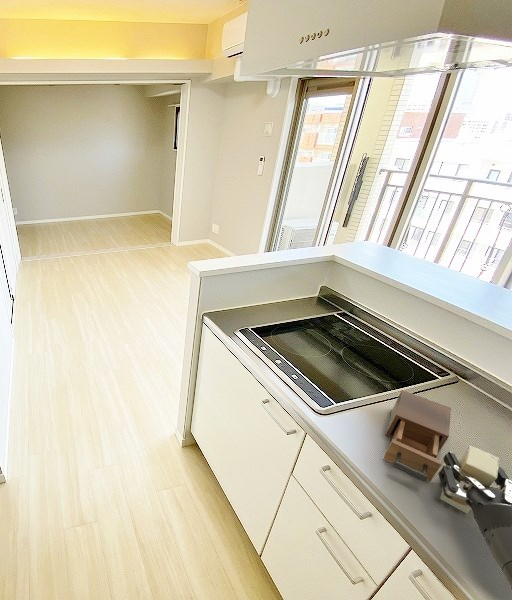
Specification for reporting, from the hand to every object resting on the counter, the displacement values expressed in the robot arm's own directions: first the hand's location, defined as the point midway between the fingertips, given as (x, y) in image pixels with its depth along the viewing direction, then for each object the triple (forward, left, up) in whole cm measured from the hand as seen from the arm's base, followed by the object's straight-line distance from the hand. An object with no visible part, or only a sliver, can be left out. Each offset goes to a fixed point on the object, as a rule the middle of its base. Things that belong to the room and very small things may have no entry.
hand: (469, 460), depth 68 cm
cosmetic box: (-1, +2, -9) cm, 10 cm away
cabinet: (+8, -13, -9) cm, 17 cm away
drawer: (+8, -1, -8) cm, 11 cm away
